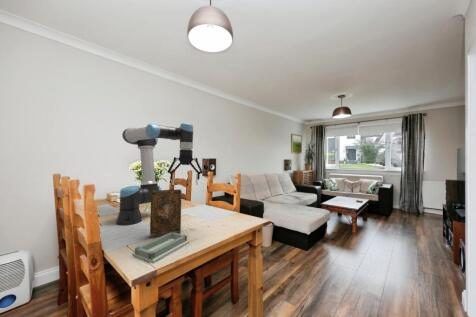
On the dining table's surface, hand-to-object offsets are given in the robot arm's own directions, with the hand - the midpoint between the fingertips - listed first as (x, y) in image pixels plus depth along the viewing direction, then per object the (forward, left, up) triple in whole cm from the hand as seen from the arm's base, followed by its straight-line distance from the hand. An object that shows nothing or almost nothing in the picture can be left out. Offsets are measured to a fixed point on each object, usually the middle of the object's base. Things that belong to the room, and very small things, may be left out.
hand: (185, 184), depth 117 cm
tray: (+7, -22, -28) cm, 36 cm away
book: (-5, -9, -28) cm, 30 cm away
